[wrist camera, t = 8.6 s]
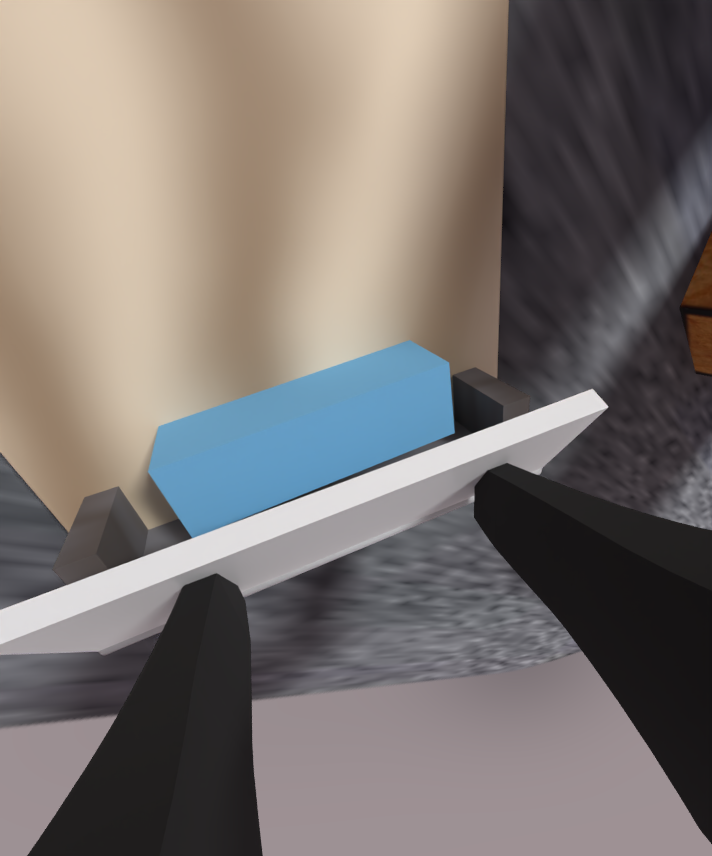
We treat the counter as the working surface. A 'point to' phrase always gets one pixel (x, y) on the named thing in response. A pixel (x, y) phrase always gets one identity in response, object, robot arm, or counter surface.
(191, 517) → the light blue rectangular box
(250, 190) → the board
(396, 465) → the plate
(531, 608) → the counter surface
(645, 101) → the counter surface
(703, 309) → the mug
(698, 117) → the counter surface
